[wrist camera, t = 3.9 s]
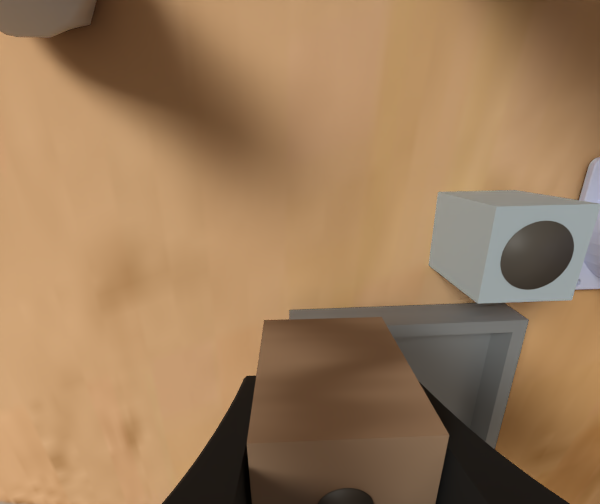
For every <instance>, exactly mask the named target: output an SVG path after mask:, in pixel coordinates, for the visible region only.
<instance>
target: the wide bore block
mask: <svg viewBox="0 0 600 504" xmlns="http://www.w3.org/2000/svg"><path fill="white" fill-rule="evenodd" d="M599 210H600V204H599V203H593V202H586V201H580V200H574V199H567V198H561V197H555V196H548V195H542V194H536V193H529V192H523V191H517V190H500V191H457V192H438V197H437V205H436V213H435V220H434V228H433V236H432V243H431V251H430V259H429V266H430V267H432V268H433V269H434V270H435V271H437V272H438V273H439V274H441V275H442V276H443V277H444V278H446V279H447V280H448V281H449V282H451V283H452V284H453V285H455V286H456V287H457V288H458V289H460V290H461V291H462V292H463V293H465V294H466V295H467V296H469V297H470V298H471V299H472V300H474V301H475V302H476V303H478V304H481V303H507V302H534V301H561V300H572V298H573V294H574V291H575V288H576V285H577V281H578V278H579V275H580V272H581V268H582V265H583V262H584V259H585V255H586V252H587V249H588V246H589V242H590V239H591V236H592V233H593V229H594V226H595V223H596V220H597V217H598V213H599Z"/></svg>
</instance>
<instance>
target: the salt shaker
mask: <svg viewBox="0 0 600 504" xmlns="http://www.w3.org/2000/svg"><path fill="white" fill-rule="evenodd" d="M96 1H97V0H0V31H1V32H3V33H4V34H6V35H11V36H15V37H39V38H50V37H53V36H55V35H58V34H60V33H63V32H65V31H68V30H70V29H73V28H78V27H82V26H87V25H90V24H91V20H92V17H93V13H94V9H95V5H96Z"/></svg>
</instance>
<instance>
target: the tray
mask: <svg viewBox="0 0 600 504" xmlns="http://www.w3.org/2000/svg"><path fill="white" fill-rule="evenodd" d="M362 317H382V318H383V320H384V322H385V324H386V325H387V327H388V329H389V331H390V332H391V334H392V336H393V338H394V339H395V341H396V343H397V345H398V346H399V348H400V350H401V352H402V353H403V355H404V357H405V359H406V360H407V362H408V364H409V366H410V367H411V369H412V371H413V373H414V374H415V376H416V378H417V380H418V381H419V382H420V383H421V384H422V385H423V386H424V387H425V388H426V389H427V390H428V391H429V392H431V393H432V394H433V395H434V396H435V397H436V398H437V399H438V400H439V401H440V402H441V403H442V404H443V405H444V406H445V407H446V408H447V409H448V410H450V411H451V412H452V413H453V414H454V415H455V416H456V417H457V418H458V419H459V420H460V421H462V422H463V423H464V424H465V425H466V426H467V427H468V428H470V429H471V430H472V431H473V432H474V433H475V434H477V435H478V436H479V437H480V438H481V439H483V440H484V441H485V442H486V443H487V444H489V445H490V446H491V447H492V448H493V449H495V447H496V443H497V439H498V435H499V431H500V428H501V424H502V420H503V416H504V412H505V409H506V405H507V401H508V397H509V393H510V390H511V386H512V382H513V378H514V374H515V370H516V367H517V363H518V359H519V355H520V351H521V348H522V344H523V340H524V336H525V332H526V329H527V325H528V321H529V320H528V319H527V318H525V317H524V316H522V315H521V314H519V313H518V312H516V311H515V310H513V309H512V308H511V307H509V306H508V305H506V304H505V303H481V304H478V303H463V304H436V305H409V306H383V307H356V308H329V309H302V310H289V319H326V318H362Z"/></svg>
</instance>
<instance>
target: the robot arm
mask: <svg viewBox="0 0 600 504" xmlns="http://www.w3.org/2000/svg"><path fill="white" fill-rule="evenodd" d="M579 200H580V201H586V202H593V203H599V204H600V157H597V158H595V159H594V160H592V162H591V163H590V164H589V167H588V170H587V174H586V177H585V181H584V184H583V188H582V191H581V195H580V198H579ZM580 289H600V210H599V213H598V217H597V220H596V223H595V226H594V229H593V233H592V236H591V239H590V242H589V246H588V249H587V252H586V255H585V259H584V262H583V265H582V268H581V272H580V275H579V278H578V281H577V285H576V288H575V290H580ZM255 381H256V376H246V377H245V378H244V380H243V382H242V384H241V386H240V388H239V391H238V393H237V395H236V396H235V398H234V400H233V402H232V404H231V406H230V408H229V409H228V411H227V413H226V414H225V416H224V418H223V419H222V421H221V423H220V425H219V426H218V428H217V429H216V431H215V433H214V434H213V436H212V437H211V439H210V440H209V442H208V443H207V445H206V446H205V448H204V449H203V451H202V452H201V454H200V455H199V457H198V458H197V459H196V461H195V462H194V463H193V465H192V466H191V468H190V469H189V470H188V472H187V473H186V474H185V476H184V477H183V478H182V480H181V481H180V482H179V483H178V485H177V486H176V487H175V489H174V490H173V491H172V492H171V493H170V495H169V496H168V497H167V498H166V499H165V501H164V502H163V503H162V504H252V498H251V487H250V476H249V465H248V454H247V437H248V430H249V423H250V416H251V409H252V402H253V395H254V388H255ZM419 383H420V382H419ZM420 385H421V387H422V388H423V390H424V392H425V393H426V395H427V397H428V399H429V400H430V402H431V404H432V406H433V407H434V409H435V411H436V413H437V414H438V416H439V418H440V420H441V421H442V423H443V425H444V427H445V428H446V430H447V432H448V434H449V440H448V444H447V449H446V454H445V459H444V464H443V469H442V474H441V478H440V483H439V488H438V493H437V498H436V503H435V504H569V503H568V502H566V501H565V500H563V499H562V498H560V497H559V496H558V495H556V494H555V493H553V492H552V491H550V490H549V489H547V488H546V487H544V486H543V485H541V484H540V483H539V482H537V481H536V480H534V479H533V478H532V477H530V476H529V475H527V474H526V473H525V472H523V471H522V470H521V469H519V468H518V467H517V466H515V465H514V464H513V463H511V462H510V461H509V460H508V459H506V458H505V457H504V456H502V455H501V454H500V453H498V452H497V451H496V450H495V449H493V448H492V447H491V446H490V445H489V444H487V443H486V442H485V441H484V440H483V439H481V438H480V437H479V436H478V435H477V434H475V433H474V432H473V431H472V430H471V429H470V428H468V427H467V426H466V425H465V424H464V423H463V422H462V421H460V420H459V419H458V418H457V417H456V416H455V415H454V414H453V413H452V412H451V411H450V410H448V409H447V408H446V407H445V406H444V405H443V404H442V403H441V402H440V401H439V400H438V399H437V398H436V397H435V396H434V395H433V394H432V393H431V392H429V391H428V390H427V389H426V388H425V387H424V386H423V385H422V384H421V383H420Z"/></svg>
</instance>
